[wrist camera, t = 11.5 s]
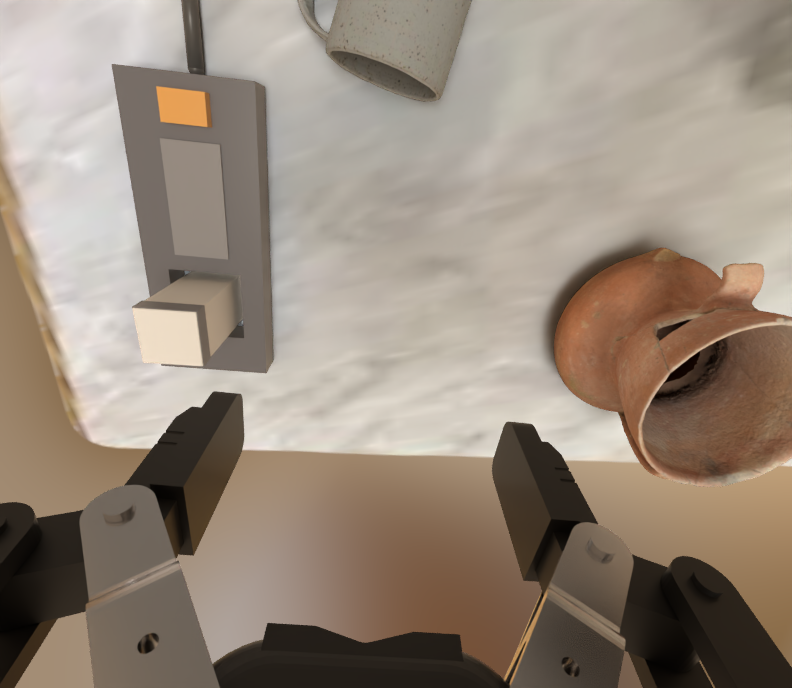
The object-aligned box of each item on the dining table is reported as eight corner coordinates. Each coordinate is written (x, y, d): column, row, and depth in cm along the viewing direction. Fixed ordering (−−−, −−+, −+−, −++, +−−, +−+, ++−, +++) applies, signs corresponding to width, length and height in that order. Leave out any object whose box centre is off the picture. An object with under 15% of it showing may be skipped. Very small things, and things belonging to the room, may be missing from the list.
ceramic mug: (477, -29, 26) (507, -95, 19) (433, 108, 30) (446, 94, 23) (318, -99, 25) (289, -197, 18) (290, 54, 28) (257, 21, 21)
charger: (191, 270, 34) (131, 307, 26) (240, 274, 35) (196, 311, 26) (197, 316, 36) (142, 364, 28) (244, 319, 36) (203, 368, 28)
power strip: (113, -63, 25) (77, -92, 22) (260, -42, 26) (245, -67, 23) (174, 352, 37) (156, 369, 35) (273, 360, 38) (264, 377, 35)
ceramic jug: (561, 230, 34) (670, 278, 21) (730, 231, 34) (938, 280, 21) (528, 410, 41) (592, 526, 29) (666, 409, 42) (791, 523, 29)
